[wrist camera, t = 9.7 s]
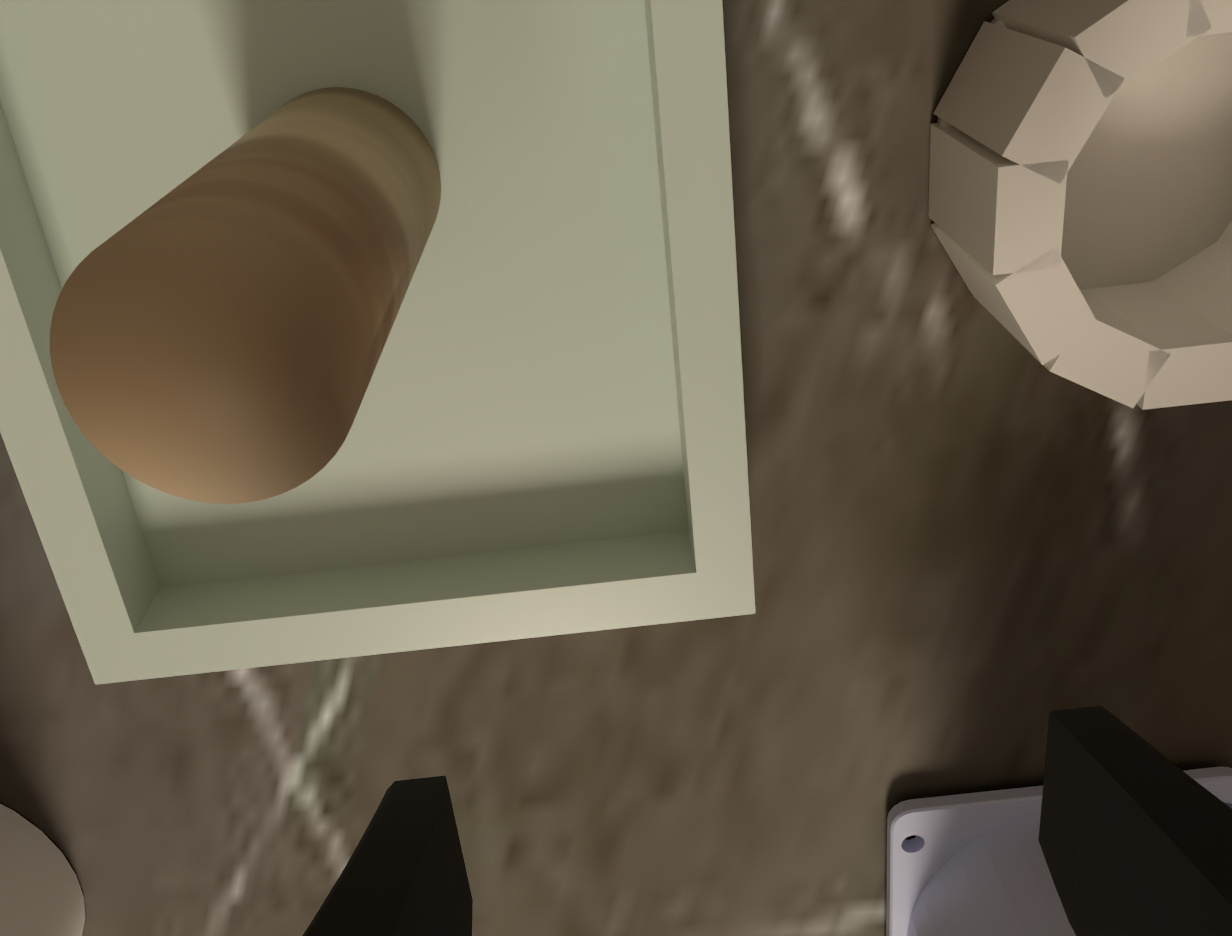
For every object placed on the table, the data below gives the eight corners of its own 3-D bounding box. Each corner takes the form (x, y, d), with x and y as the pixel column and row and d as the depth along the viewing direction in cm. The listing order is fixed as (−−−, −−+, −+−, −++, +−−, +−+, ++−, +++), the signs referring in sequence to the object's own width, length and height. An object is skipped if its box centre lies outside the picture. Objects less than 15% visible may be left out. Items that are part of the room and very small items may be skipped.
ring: (1281, 310, 21) (1400, 382, 18) (925, 350, 21) (985, 427, 18) (1348, -83, 18) (1504, -77, 15) (934, -38, 18) (1007, -21, 15)
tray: (736, 543, 23) (755, 613, 21) (139, 607, 23) (95, 684, 21) (675, -458, 16) (694, -513, 14) (-190, -359, 16) (-312, -400, 14)
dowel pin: (455, 263, 19) (386, 487, 12) (276, 284, 19) (102, 518, 12) (423, 76, 18) (324, 204, 11) (230, 98, 18) (5, 239, 11)
